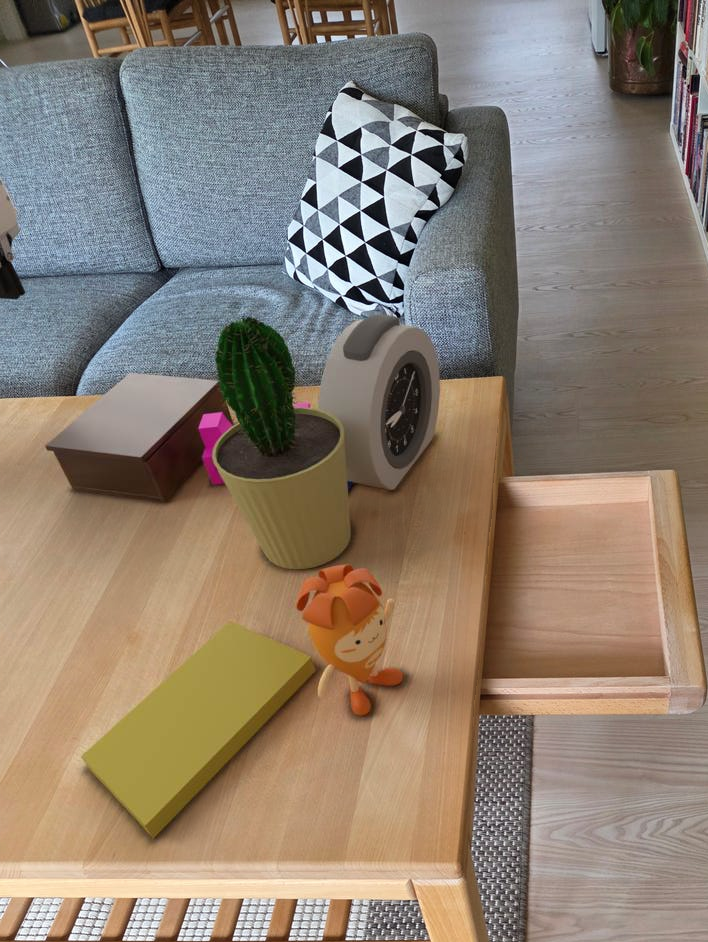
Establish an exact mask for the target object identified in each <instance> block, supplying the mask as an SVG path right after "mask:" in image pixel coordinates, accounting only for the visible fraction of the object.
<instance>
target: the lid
mask: <svg viewBox="0 0 708 942" xmlns="http://www.w3.org/2000/svg"><path fill="white" fill-rule="evenodd" d="M215 384H216V385H215ZM219 384H220V383H219V381H217V380H215V379H204V378H203V379H202V378H192V377H183V376H182V377H181V376H171V375H158V374H148V373H137V372H129V373H128V374H127V375H125V376H124V377H123V378H122V379H121V380H120V381H119V382H118V383H116V384H115V385H114V386H113V387H112V388H110V389H109V390H108V391H107V392H106V393H105V394H103V395H102V396H101V397H100V398H99V399H98V400H96V401H95V402H94V403H93V404H92V405H90V407H88V408H87V409H86V410H85V411H84V412H82V413H81V414H80V415H78V417H77V418H75V419H74V420H73V421H71V423H70V424H68V425H67V426H66V427H65V428H63V430H62V431H60V432H59V433H57V434H56V435H55V436H54V437H53V438H52V439H51V440H50V441H48V442H47V443H46V444H44V447H45V449H46V451H47V452H53V451H54V452H63V453H71V454H79V455H87V456H95V457H103V458H112V459H120V460H128V461H136V462H144V461H145V460H146V459H147V458H148V457H149V456H150V455H151V454H152V453H153V452H154V451H155V450H156V449H157V448H158V447H159V446H160V445H161V444H162V443H163V442H164V441H165V440H166V439H167V438H168V437H169V436H170V435H171V434H172V433H173V432H174V431H175V430H176V429H177V428H178V427H179V426H180V425H181V424H182V423H183V422H184V421H185V420H186V419H187V418H188V417H189V416H190V415H191V414H193V413H194V412H195V411H196V410H197V409H198V408H199V407H200V406H201V405H202V404H203V403H204V402H205V401H206V400H207V399H208V398H209V397H210V396H211V395H212V394H213V393H214V392H215V391H216V390H217V389H218V388H219V387H220V386H219ZM216 387H217V389H216ZM54 452H53V453H54Z"/></svg>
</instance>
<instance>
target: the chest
mask: <svg viewBox="0 0 708 942" xmlns="http://www.w3.org/2000/svg"><path fill="white" fill-rule="evenodd" d="M219 388H220V387H219ZM219 388H218V389H219ZM218 389H217V390H216V391H215V392H214V393H213V394H212V395H211V396H210V397H209V398H208V399H207V400H206V401H205V402H204V403H203V404H202V405H201V406H200V407H199V408H198V409H197V410H196V411H195V412H194V413H193V414H191V415H190V416H189V417H188V418H187V419H186V420H185V421H184V422H183V423H182V424H181V425H180V426H179V427H178V428H177V429H176V430H175V431H174V432H173V433H172V434H171V435H170V436H169V437H168V438H167V439H166V440H165V441H164V442H163V443H162V444H161V445H160V446H159V447H158V448H157V449H156V450H155V451H154V452H153V453H152V454H151V455H150V456H149V457H148V458H147V459H146V460H145V461H144V462H136V461H128V460H120V459H112V458H103V457H95V456H87V455H79V454H71V453H63V452H54V451H52V452H53V455H54V457H55V458H56V460H57V462H58V464H59V466H60V468H61V470H62V471H63V474H64V476H65V478H66V479H67V481H68V484H69V485H70V487H71V490H72V491H76V492H77V491H78V492H83V493H90V494H97V495H98V494H99V495H104V496H105V495H106V496H112V497H118V498H119V497H121V498H127V499H135V500H142V501H149V502H155V503H156V502H157V503H167V502H168V501H169V500H170V498H171V497H172V496H173V495H174V494H175V493H176V492H177V491H178V489H180V487H181V486H182V485H183V484H184V483H185V482H186V481H187V480H188V478H190V476H191V475H192V474H193V473H194V472H195V471H196V469H197V468H199V466H200V465H201V464H202V463H203V459H202V456H203V453H204V450H205V445H204V443H203V440H202V437H201V435H200V432H199V430H198V428H199V425H200V422H201V420H202V417H203V414H210V413H219V412H222V413H223V414H224V416H225V417H226V419H227V420H228V421H229V422H230V423H231V424H232V425H233V426H234V425H235V424H234V421H233V418H232V414H231V412H230V408H229V406H228V405H227V401H225V400H224V399H223V397H222V394H223V393H221V391H219V390H221V388H220V389H219V390H218ZM217 391H218V392H217ZM222 399H223V400H222ZM221 400H222V401H221ZM220 401H221V402H220ZM219 402H220V403H219ZM222 402H223V403H222ZM224 402H225V403H226V404H225V403H224ZM218 403H219V404H218ZM223 404H224V405H223ZM222 405H223V406H225V405H227V406H225V407H223V406H222ZM220 406H221V407H220ZM222 407H223V408H222ZM227 408H228V409H227ZM225 409H226V410H225ZM224 410H225V411H224ZM223 411H224V412H223Z"/></svg>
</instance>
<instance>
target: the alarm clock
mask: <svg viewBox="0 0 708 942" xmlns="http://www.w3.org/2000/svg"><path fill="white" fill-rule="evenodd" d="M440 379H441V378H440V366H439V361H438V355H437V351H436V349H435V347H434V343H433V341H432V339H431V338H430V336H429V335H428V334H427V332H426V331H425V330H423V329H422V328H420V327H419V326H416V325H409V324H403V323H400V318H399V317H397V316H395V315H390V314H382V313H380V314H379V313H374V314H371V315H369V316H367V317H365V318H363V319H358V320H355V321H354V322H352V323H351V324H350V325H348V326H347V327H345V328H344V329H343V331H341V333H340V335H339V336H338V338H336V340H335V342H334V343H333V346H332V348H331V350H330V352H329V355H328V356H327V359H326V361H325V366H324V369H323V372H322V375H321V380H320V386H319V393H318V400H317V409H320V410H323V411H326V412H328V413H330V414H332V415H334V416H335V417H337V419H338V420H339V421H340V422H341V423H342V425H343V428H344V443H345V459H346V473H347V481H350V482H354V483H355V484H361V485H365V486H369V487H375V488H379V489H384V490H389V491H394V490H395V489H396V488H397V486H398V485H399V484H400V483H401V481H403V479H404V477H405V476H406V475H407V473H408V472H409V470H410V469H411V468H412V467H413V465H414V464H415V463H416V462H417V460H418V459H419V457H420V456H421V455H422V453H424V451H425V449H426V448H427V447H428V446H429V444H430V443H431V442H432V440H433V438H434V435H435V430H436V426H437V420H438V414H439V407H440V394H441V383H440V382H441V381H440Z"/></svg>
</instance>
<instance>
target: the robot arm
mask: <svg viewBox="0 0 708 942" xmlns="http://www.w3.org/2000/svg"><path fill="white" fill-rule="evenodd" d="M18 221H19V217H18V212H17V210H16V207H15V205H14V202H13V201H12V198H11V195H10V194H9V191H8V190H7V188H6V186H5V183H4V182H3V180H2V178H1V177H0V299H4V300H18V299H19V298H20V297H23V296H24V295H26V290H25V288H24V286H23V284H22V282H21V280H20V277H19V276H18V273H17V270H16V269H15V267H14V265H13V263H12V262H13V261H14V257H15V256H14V253H13V251H12V249H13V248H12V247H13V246H12V245H13V241H14V240H15V238H17V236H18V235H19V234H20V231H21V228H20V226H19V224H18Z"/></svg>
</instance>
